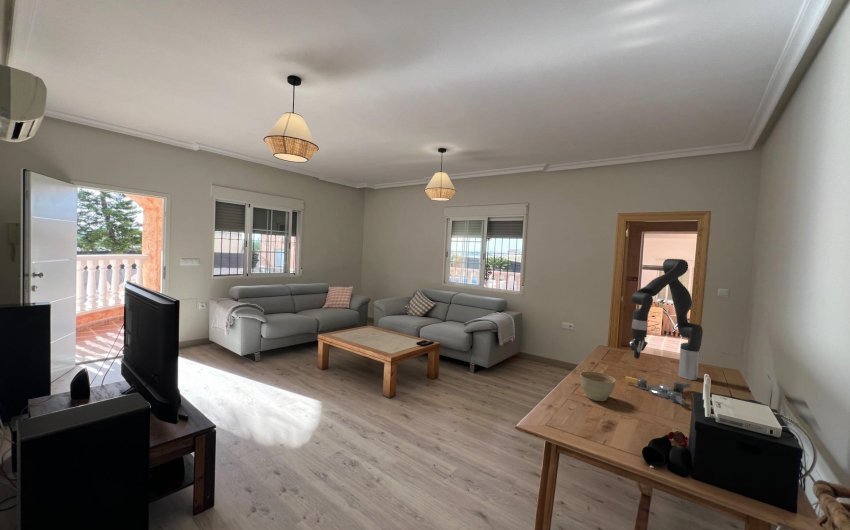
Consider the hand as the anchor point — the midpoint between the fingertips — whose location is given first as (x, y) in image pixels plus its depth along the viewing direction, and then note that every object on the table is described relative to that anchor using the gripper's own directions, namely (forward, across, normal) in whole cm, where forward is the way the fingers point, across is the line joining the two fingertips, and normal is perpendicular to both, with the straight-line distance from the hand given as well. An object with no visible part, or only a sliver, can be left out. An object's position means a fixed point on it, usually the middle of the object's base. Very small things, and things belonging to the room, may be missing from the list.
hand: (636, 358), depth 202 cm
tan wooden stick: (+13, +3, +3) cm, 14 cm away
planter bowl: (+16, +39, +9) cm, 43 cm away
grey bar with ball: (+13, -16, +16) cm, 26 cm away
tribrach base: (+15, -2, +13) cm, 20 cm away
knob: (+13, +4, +26) cm, 30 cm away
